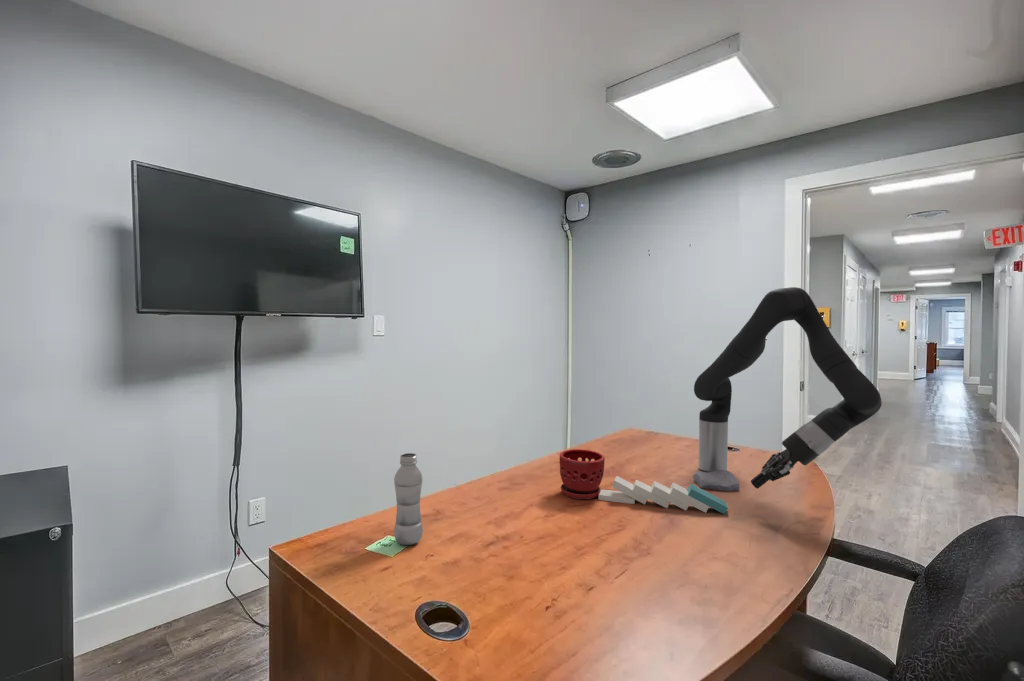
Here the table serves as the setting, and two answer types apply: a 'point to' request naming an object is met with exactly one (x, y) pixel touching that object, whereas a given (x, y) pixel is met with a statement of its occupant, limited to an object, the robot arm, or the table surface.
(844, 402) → the robot arm
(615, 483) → the domino
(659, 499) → the domino
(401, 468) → the plastic bottle
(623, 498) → the domino
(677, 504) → the domino
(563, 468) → the plant pot
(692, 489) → the domino
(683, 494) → the domino
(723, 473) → the stone block
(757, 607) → the table surface
